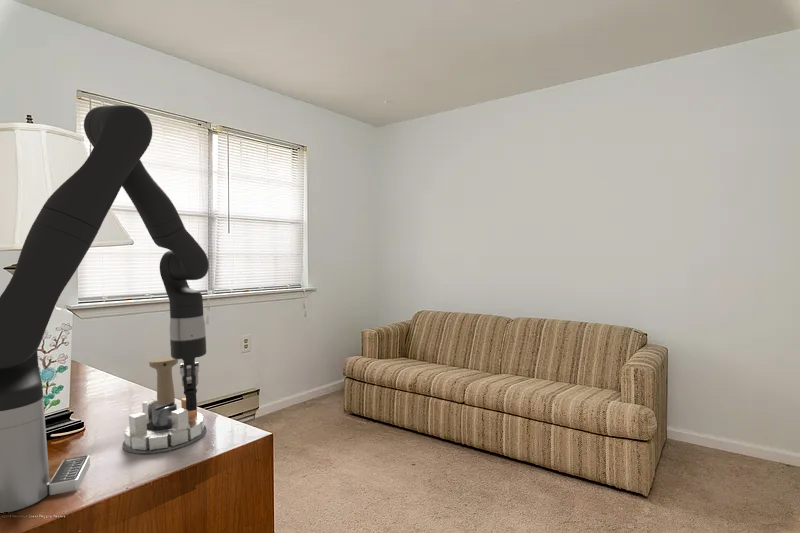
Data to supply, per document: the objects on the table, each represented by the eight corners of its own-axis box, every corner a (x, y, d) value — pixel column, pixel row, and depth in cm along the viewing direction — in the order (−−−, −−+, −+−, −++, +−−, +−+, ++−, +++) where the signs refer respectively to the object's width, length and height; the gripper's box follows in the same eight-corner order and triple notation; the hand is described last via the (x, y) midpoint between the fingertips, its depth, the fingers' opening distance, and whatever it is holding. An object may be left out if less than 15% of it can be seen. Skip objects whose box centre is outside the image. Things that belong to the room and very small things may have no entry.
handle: (152, 417, 120) (148, 359, 119) (179, 412, 123) (176, 355, 122) (153, 423, 116) (150, 363, 115) (182, 418, 119) (178, 359, 118)
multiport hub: (48, 497, 83) (47, 484, 83) (64, 470, 93) (63, 459, 93) (78, 491, 85) (77, 479, 85) (90, 465, 95) (89, 454, 95)
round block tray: (215, 432, 107) (214, 404, 107) (140, 456, 96) (138, 425, 96) (186, 415, 118) (185, 390, 118) (116, 436, 107) (114, 407, 107)
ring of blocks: (152, 460, 96) (150, 425, 95) (106, 444, 104) (104, 411, 104) (222, 430, 110) (220, 399, 110) (176, 418, 119) (175, 389, 118)
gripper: (205, 339, 104) (209, 416, 105) (205, 329, 117) (208, 399, 117) (167, 342, 101) (172, 422, 102) (171, 332, 114) (175, 403, 114)
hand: (191, 409), depth 110 cm, fingers closed
